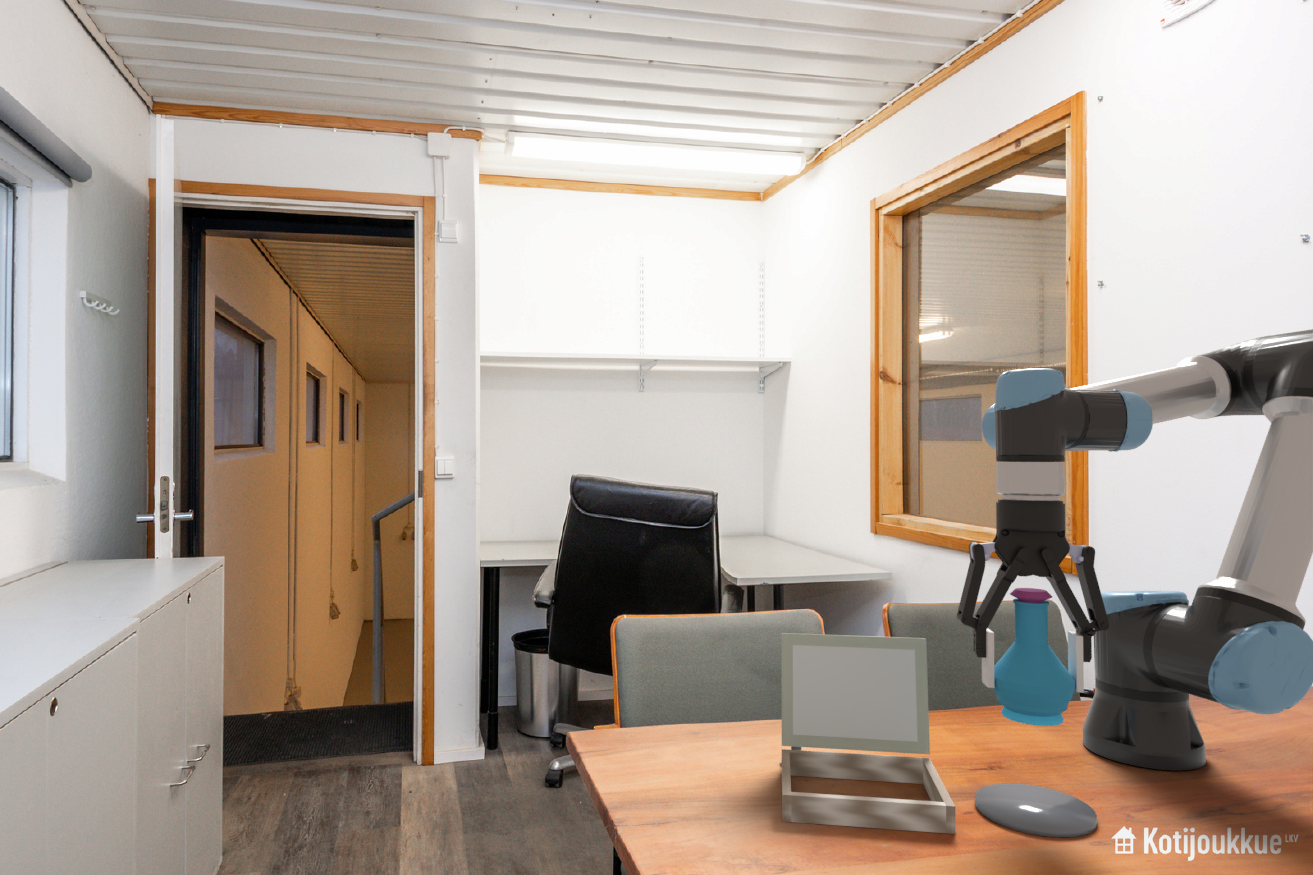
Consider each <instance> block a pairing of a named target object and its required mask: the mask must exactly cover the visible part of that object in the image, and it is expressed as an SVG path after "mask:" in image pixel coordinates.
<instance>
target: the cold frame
mask: <svg viewBox="0 0 1313 875" xmlns="http://www.w3.org/2000/svg"><path fill="white" fill-rule="evenodd" d="M791 776H794V777H808V778H809V777H810V778H811V777H812V778H826V779H840V780H841V779H842V780H854V781H855V780H856V781H857V780H858V781H869V782H871V781H873V782H887V783H902V784H919V785H923V787H924V789H925V791H926V793H927V795H928V797H929V799H930V800H916V799H904V798H903V799H901V798H889V797H888V798H887V797H877V796H876V797H874V796H873V797H872V796H871V797H870V796H859V795H844V794H843V795H841V794H827V793H826V794H825V793H814V792H813V793H812V792H799V791H792V782H791V780H792V779H791V778H792V777H791ZM781 807H782V808H781V810H782V811H781V812H782V813H781V815H782V822H786V823H787V822H788V823H798V824H800V823H801V824H802V823H803V824H816V825H828V826H839V827H840V826H841V827H856V828H869V829H881V830H882V829H884V830H894V831H895V830H896V831H897V830H898V831H908V832H909V831H910V832H925V833H938V834H939V833H940V834H952V835H956V834H957V833H956V828H957V827H956V826H957V825H956V819H957V818H956V804H955V803H954V801H953V799H952V798H951V796H950V794H949V792H948V790H947V788H946V787H945V784H944V783H943V781H942V778H941V777H940V775H939V774H938V771H937V769H936V767H935V765H934V764H933V762H932V759H931V758H930V757H923V756H922V757H920V756H902V755H900V756H899V755H885V754H867V753H852V752H851V753H850V752H835V751H817V750H816V751H815V750H804V749H803V750H802V749H801V750H791V749H785V748H784V749H782V748H781Z"/></svg>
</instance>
